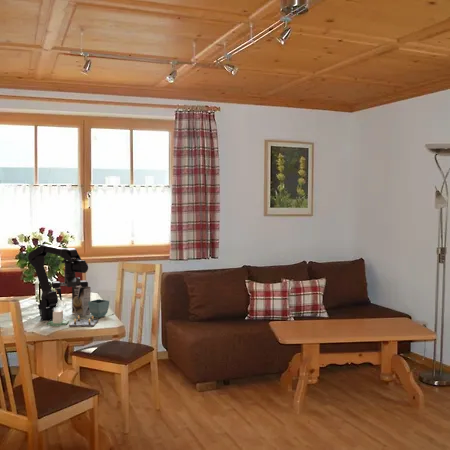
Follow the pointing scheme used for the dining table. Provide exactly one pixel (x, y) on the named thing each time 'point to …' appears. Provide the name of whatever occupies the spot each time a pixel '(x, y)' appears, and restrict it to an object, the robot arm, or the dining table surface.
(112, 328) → the dining table surface
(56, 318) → the block on green base
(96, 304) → the flower pot
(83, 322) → the chassis
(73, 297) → the coffee box
